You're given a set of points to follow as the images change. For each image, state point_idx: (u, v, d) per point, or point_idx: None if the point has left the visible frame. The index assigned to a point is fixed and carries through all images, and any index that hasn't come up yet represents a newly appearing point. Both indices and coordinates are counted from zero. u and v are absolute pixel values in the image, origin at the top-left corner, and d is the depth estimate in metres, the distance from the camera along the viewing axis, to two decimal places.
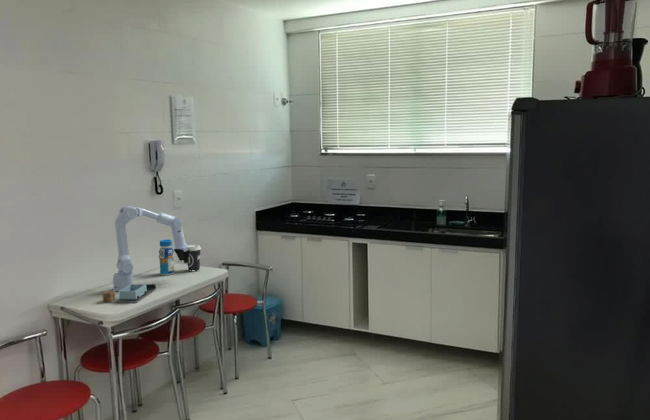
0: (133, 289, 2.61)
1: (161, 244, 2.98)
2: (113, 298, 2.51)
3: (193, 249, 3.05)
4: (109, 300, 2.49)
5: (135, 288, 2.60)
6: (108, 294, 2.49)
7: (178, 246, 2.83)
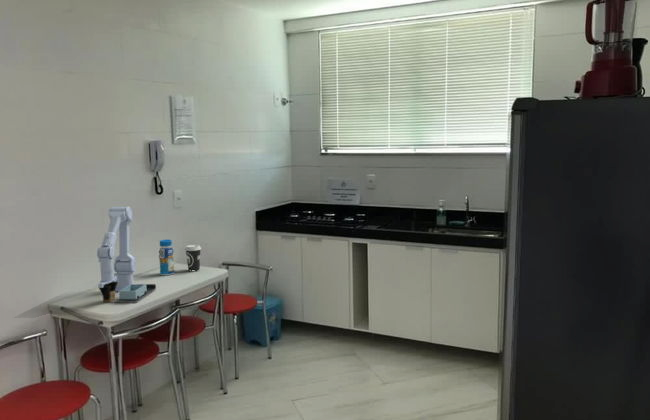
0: (133, 289, 2.61)
1: (161, 244, 2.98)
2: (113, 298, 2.51)
3: (193, 249, 3.05)
4: (109, 300, 2.49)
5: (135, 288, 2.60)
6: None
7: (101, 279, 2.48)
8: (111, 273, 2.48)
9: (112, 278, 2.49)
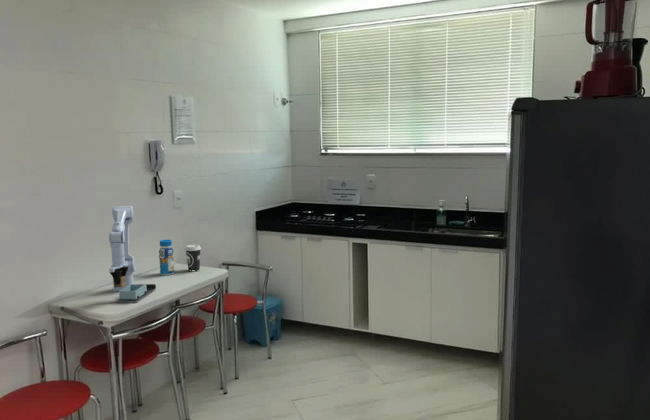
0: (133, 289, 2.61)
1: (161, 244, 2.98)
2: (124, 283, 2.52)
3: (193, 249, 3.05)
4: (120, 285, 2.50)
5: (135, 288, 2.60)
6: None
7: (112, 264, 2.49)
8: (122, 258, 2.49)
9: (123, 263, 2.50)
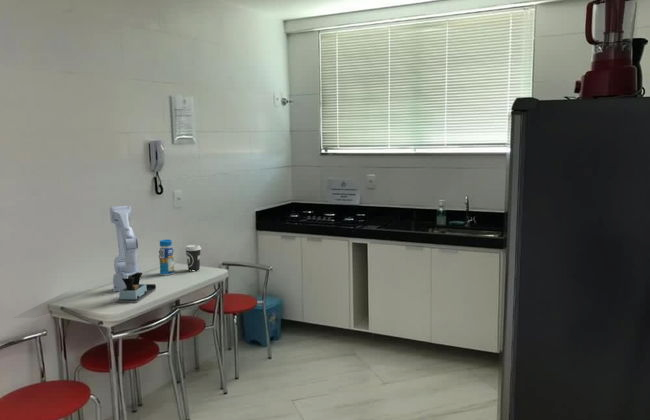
0: None
1: (161, 244, 2.98)
2: None
3: (193, 249, 3.05)
4: None
5: None
6: None
7: (126, 270, 2.52)
8: (135, 264, 2.52)
9: (136, 269, 2.53)
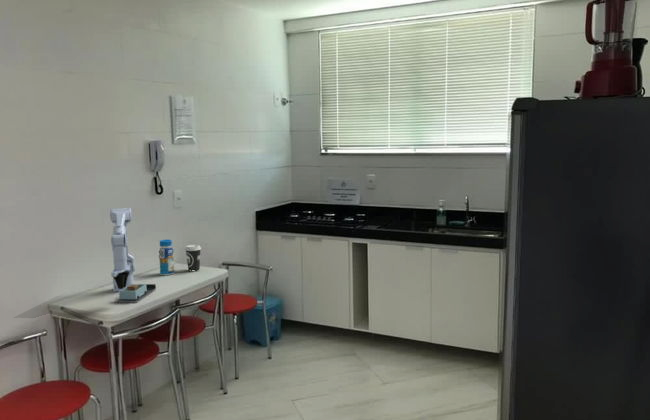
0: None
1: (161, 244, 2.98)
2: None
3: (193, 249, 3.05)
4: None
5: None
6: (132, 287, 2.53)
7: (114, 268, 2.40)
8: (124, 262, 2.41)
9: (125, 267, 2.41)
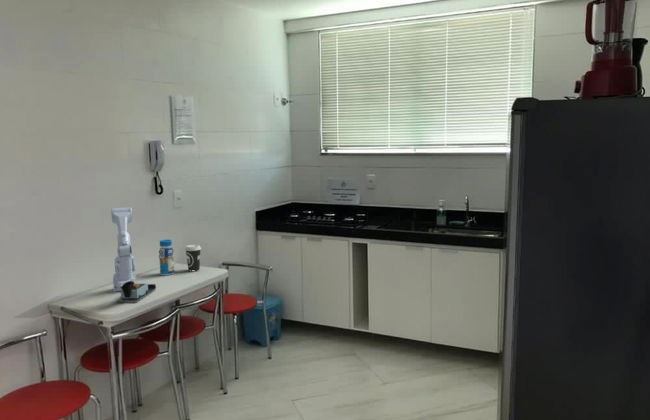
0: None
1: (161, 244, 2.98)
2: None
3: (193, 249, 3.05)
4: None
5: None
6: (134, 286, 2.54)
7: (120, 278, 2.46)
8: (130, 272, 2.46)
9: (131, 277, 2.47)
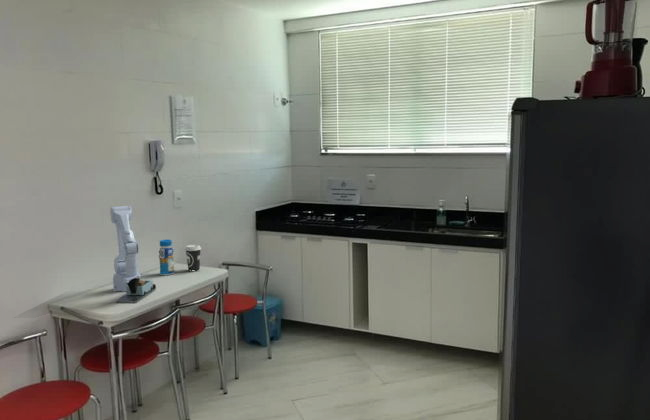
0: None
1: (161, 244, 2.98)
2: None
3: (193, 249, 3.05)
4: None
5: None
6: (139, 283, 2.60)
7: (126, 275, 2.52)
8: (136, 269, 2.52)
9: (137, 273, 2.53)
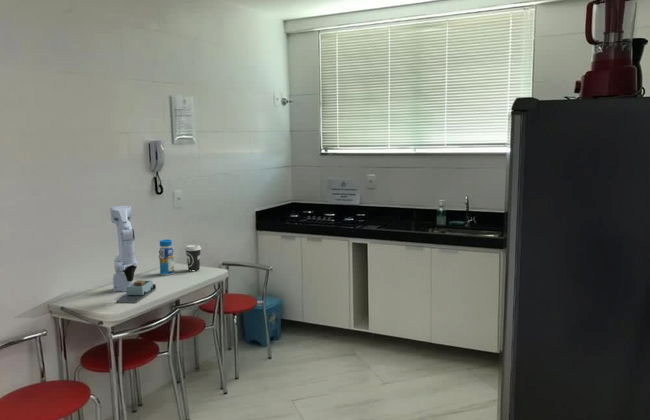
0: None
1: (161, 244, 2.98)
2: None
3: (193, 249, 3.05)
4: None
5: None
6: (139, 283, 2.60)
7: (123, 262, 2.49)
8: (132, 256, 2.49)
9: (133, 261, 2.50)
